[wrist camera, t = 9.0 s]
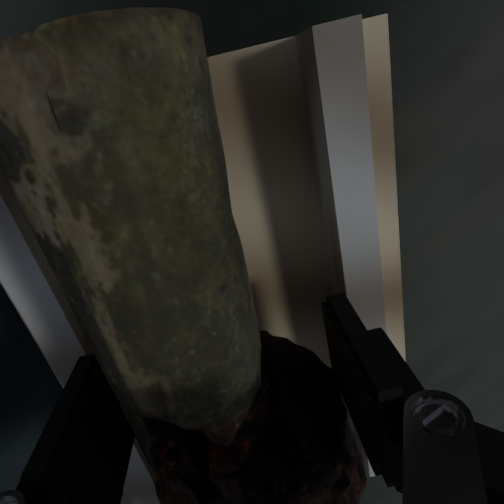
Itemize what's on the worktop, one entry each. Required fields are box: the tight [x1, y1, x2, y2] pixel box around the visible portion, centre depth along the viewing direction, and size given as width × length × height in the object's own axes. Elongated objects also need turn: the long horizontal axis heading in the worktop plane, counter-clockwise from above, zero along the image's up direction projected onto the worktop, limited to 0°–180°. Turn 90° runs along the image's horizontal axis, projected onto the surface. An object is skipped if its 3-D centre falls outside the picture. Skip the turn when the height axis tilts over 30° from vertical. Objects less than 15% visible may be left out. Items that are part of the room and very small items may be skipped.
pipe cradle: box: [0, 13, 406, 504], centre depth 14 cm, size 17×14×3 cm
